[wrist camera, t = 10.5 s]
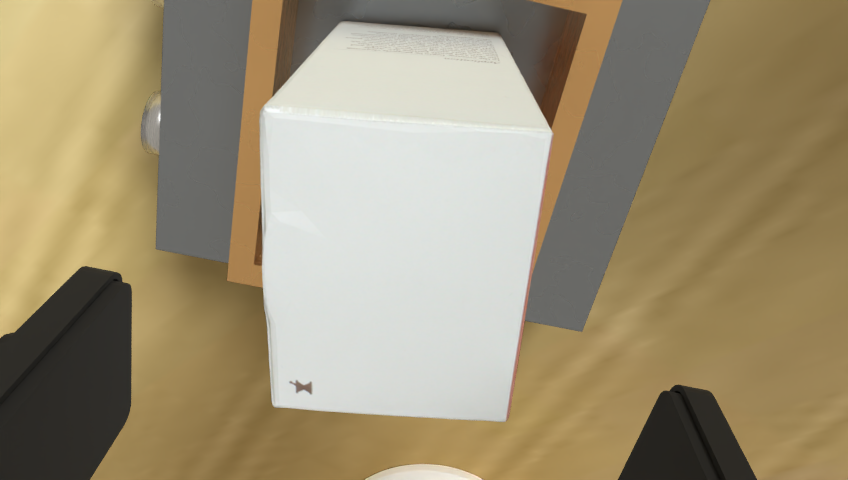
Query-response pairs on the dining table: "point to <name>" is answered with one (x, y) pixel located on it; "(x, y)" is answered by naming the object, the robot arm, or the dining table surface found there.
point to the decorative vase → (423, 473)
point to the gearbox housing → (435, 8)
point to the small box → (400, 223)
